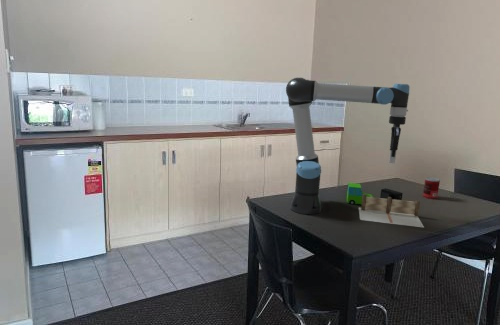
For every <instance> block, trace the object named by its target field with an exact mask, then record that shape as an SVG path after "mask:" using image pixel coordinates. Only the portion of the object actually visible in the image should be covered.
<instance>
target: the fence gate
mask: <svg viewBox="0 0 500 325" xmlns="http://www.w3.org/2000/svg"><path fill="white" fill-rule="evenodd" d="M420 205H421V201H420V200H415V201H410V200H404V199H402V200H393V199H392V203H391V207H390V212H393V213H402V214H411V215H415V216H418V217H419V210H420Z"/></svg>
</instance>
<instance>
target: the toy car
mask: <svg viewBox="0 0 500 325" xmlns="http://www.w3.org/2000/svg"><path fill="white" fill-rule="evenodd" d="M346 191H347V192H346V203H348V204H349V205H362V196H363V194H366V197H374V196H373V194H369V193H365V192H363V189H362V185H361V183H354V182H348V183H347V190H346ZM365 204H366V203H365Z"/></svg>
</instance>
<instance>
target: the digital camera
mask: <svg viewBox="0 0 500 325" xmlns="http://www.w3.org/2000/svg"><path fill="white" fill-rule="evenodd" d="M388 197H392V199H393V200H403V192H401V191H396V190H393V189H389V188H386V187H385V188H382V189H380V197H379V198H384V199H388ZM391 203H392V200H391Z"/></svg>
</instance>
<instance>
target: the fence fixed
mask: <svg viewBox="0 0 500 325" xmlns="http://www.w3.org/2000/svg"><path fill="white" fill-rule="evenodd" d="M366 194H367V193H366ZM366 194H363V196H362V204H360V205H361V206H360V208H361V210H363V211H364V210H365V209H367V210H376V211H384V212H386V213H390V211H391V200H392V197H388V199H384V198H380V197H374V196H373V197H366ZM365 203H366V204H365Z"/></svg>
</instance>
